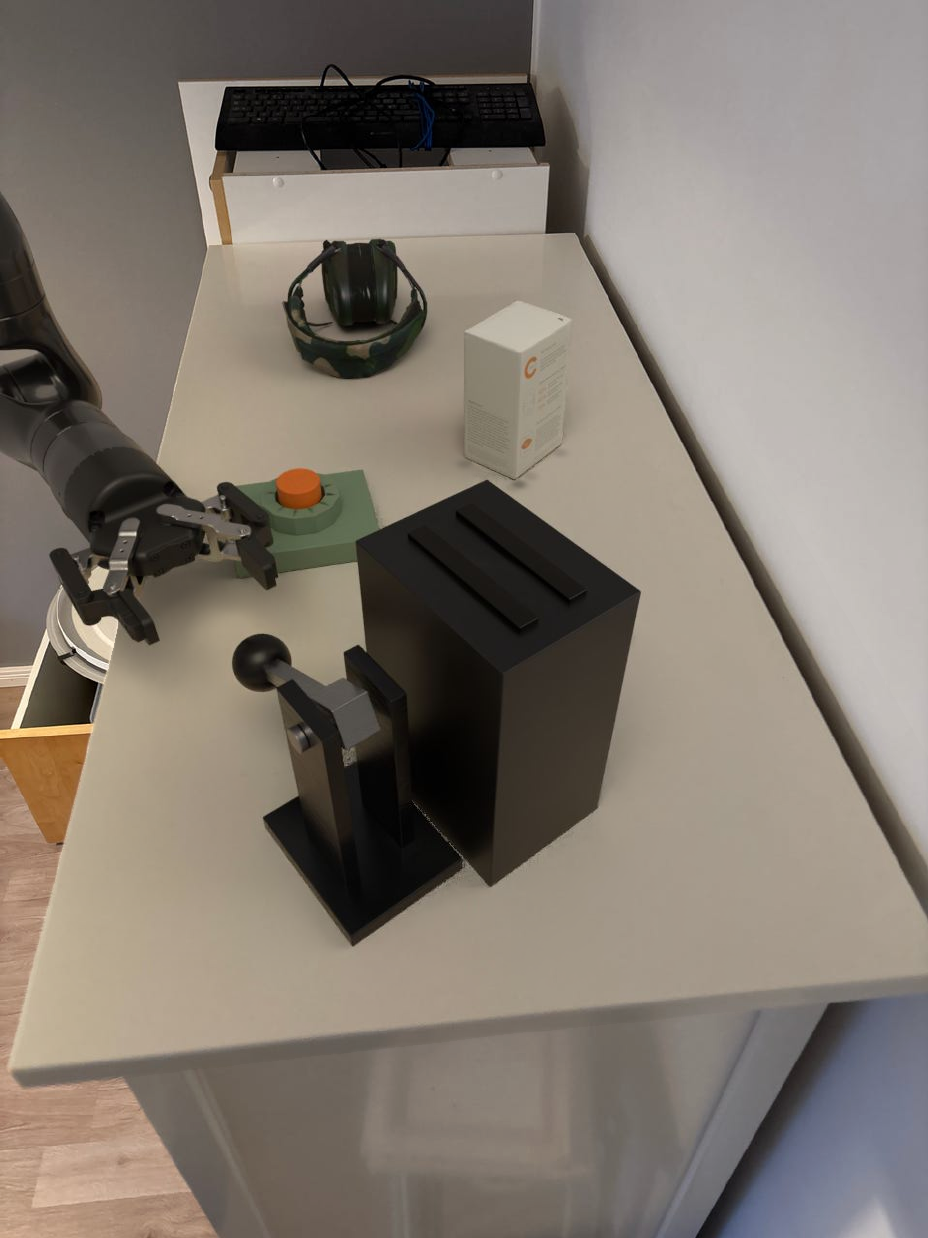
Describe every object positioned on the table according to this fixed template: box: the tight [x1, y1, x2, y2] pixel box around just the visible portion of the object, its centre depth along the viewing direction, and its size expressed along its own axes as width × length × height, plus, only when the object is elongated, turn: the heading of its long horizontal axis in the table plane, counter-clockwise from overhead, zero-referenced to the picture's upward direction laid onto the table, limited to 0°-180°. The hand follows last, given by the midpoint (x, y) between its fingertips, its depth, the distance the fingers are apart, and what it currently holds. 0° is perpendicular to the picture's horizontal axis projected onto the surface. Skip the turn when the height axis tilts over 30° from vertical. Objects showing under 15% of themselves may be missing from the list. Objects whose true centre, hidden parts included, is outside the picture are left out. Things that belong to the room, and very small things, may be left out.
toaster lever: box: [231, 633, 381, 751], centre depth 50 cm, size 14×4×4 cm, turn 39°
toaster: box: [355, 479, 642, 888], centre depth 52 cm, size 12×9×19 cm
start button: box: [276, 467, 322, 510], centre depth 74 cm, size 4×4×2 cm
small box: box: [463, 300, 574, 480], centre depth 82 cm, size 8×6×13 cm
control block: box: [231, 469, 381, 579], centre depth 76 cm, size 12×10×4 cm
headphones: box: [281, 238, 428, 379], centre depth 100 cm, size 13×13×20 cm
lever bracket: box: [262, 644, 463, 947], centre depth 50 cm, size 10×8×15 cm
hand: (213, 605), depth 58 cm, fingers open, 8 cm apart
